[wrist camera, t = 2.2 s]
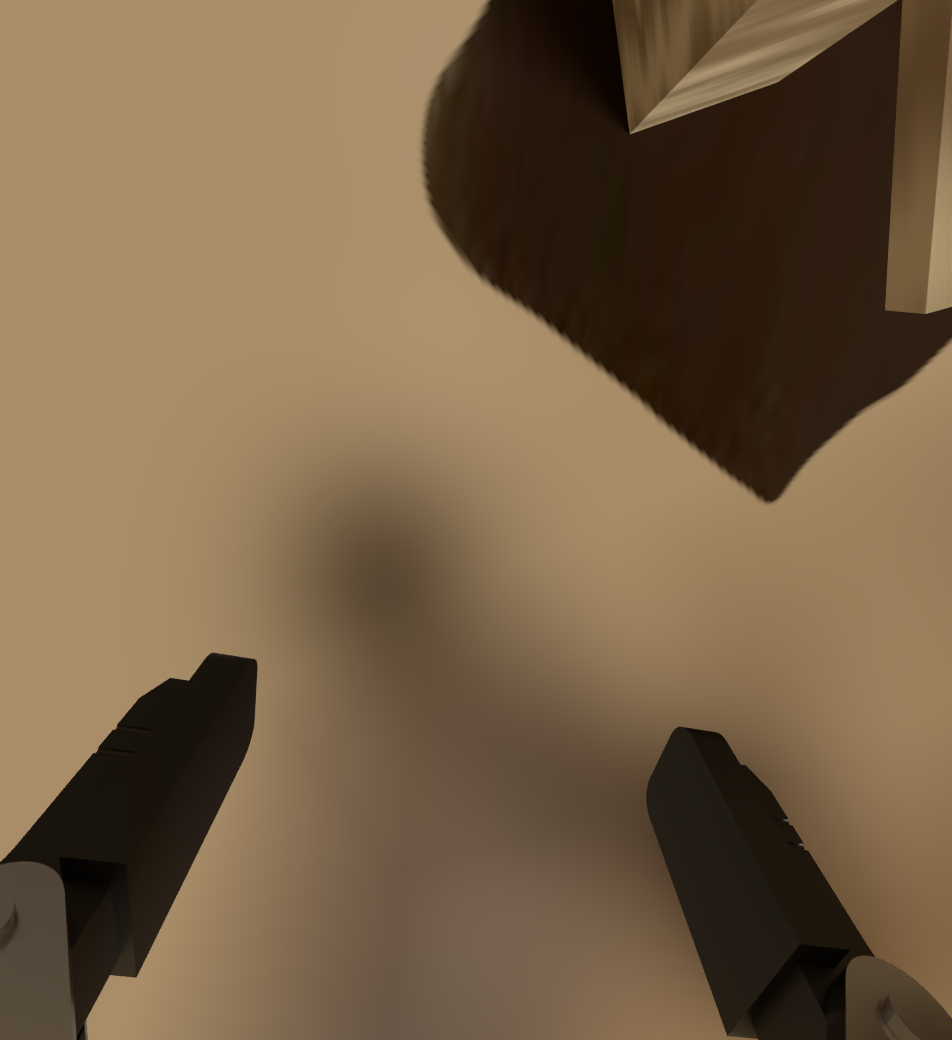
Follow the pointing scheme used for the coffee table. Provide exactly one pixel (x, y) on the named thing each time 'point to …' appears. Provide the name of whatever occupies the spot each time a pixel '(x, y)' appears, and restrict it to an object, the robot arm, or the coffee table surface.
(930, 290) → the stand
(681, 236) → the coffee table surface
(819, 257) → the coffee table surface
